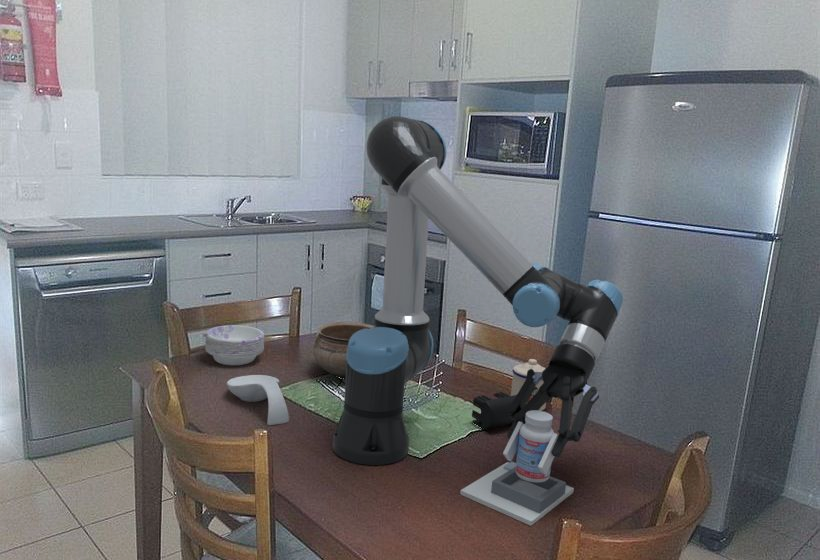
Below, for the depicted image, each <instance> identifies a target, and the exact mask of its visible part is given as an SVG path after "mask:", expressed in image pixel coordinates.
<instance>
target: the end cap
mask: <svg viewBox="0 0 820 560" xmlns="http://www.w3.org/2000/svg"><path fill="white" fill-rule="evenodd" d="M493 396H494V397H495V398H491V397H488V396H486V395H479V396H478V395H477V396H474V398H473V400H472V406H475V407H476V408H478V409H479V410H480V412H478V411H477V410H475V409H472V411H471V417H472V418H473V420H471V421H472V422H473V423H474V424H476V425H478V426H479V427H481V428H482V429H481V428H480V429H481V430H483V431H487V430H491V429H496V428H500V427H504V426H509V425H512V424H513V422H514V421H513V420H512V419H511V418H510V416H509V414H508V413H507V411H508V409H509V407H510V406H511V404H512V402H513V401H514V399H515V397H516V396H517V395H513V396H511V395H509V394H507V393H505V392H502V391H500V392H495V393H493ZM472 422H471V423H472ZM473 423H472V424H473ZM474 424H473V425H474ZM476 425H475V426H476ZM479 427H478V428H479Z"/></svg>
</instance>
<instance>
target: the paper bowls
mask: <svg viewBox="0 0 820 560" xmlns="http://www.w3.org/2000/svg"><path fill="white" fill-rule="evenodd" d="M204 343H205V352H206V353H207V354H209V355H211V356H212V357H213V359H214V361H215V362H217V363H219V364H221V365H224V366H244V365H247V364H249V363H252V362H254V360H255V359H256V357H257V356H259V355H260V354H262V353H263V352H264V349H265V348H264V347H265V333H264V331H262V330H261V329H259V328H256V327H254V326H253V327H252V326H249V325H238V324H233V325H221V326H219V325H218V326H216V327H215V326H214V327H212V328H209V329H208V330H206V333H205V342H204Z"/></svg>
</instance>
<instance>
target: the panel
mask: <svg viewBox="0 0 820 560" xmlns="http://www.w3.org/2000/svg"><path fill="white" fill-rule="evenodd" d="M515 469H516V461H515V462H514V461H507V462H505V463H504V464H501V465H500V466H498V467H497V468H495V469H493V470H492V471H490V472H488V473H487V474H485V475H484V476H482V477H480V478H478V479H477V480H475V481H473V482H472V483H470V484H469V485H467V486H465V487H463V488H462V489H460V495H461V496H463V497H465V498H467V499H469V500H472V501H474V502H477V503H479V504H481V505H482V506H483V505H484V506H485V507H488V508H490V509H493V510H494V511H497V512H499V513H501V514H503V515H506V516H508V517H510V518H512V519H515V520H517V521H518V522H521V523H523V524H526V525H528V526H530V527H532V526H533V525H534V524H535V523H537V522H538V521H539V520H541V519H542V518H543V517H544V516H545V515H546V514H548V513H549V512H551V511H552V510H553V509H554V508H556V507H557V506H558V505H559V504H561V503H562V502H563V501H564V500H566V499H567V498H568V497H569V496H571V495H572V494H573V493H574V491H575V490H574V489H575V488H574V487H571V486H569V485H567V482H566V481H563V480H560V479H558V478H555V477H553V476H551V475H550V476H549V478H548V480H546V481H544V482H538V483H537V482H529V481H526V480H523V479H521V478H520V477H518V476H517V474H516V471H515Z"/></svg>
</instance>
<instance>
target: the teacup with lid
mask: <svg viewBox="0 0 820 560" xmlns="http://www.w3.org/2000/svg"><path fill="white" fill-rule="evenodd" d="M546 368H547V367H545V366H542V365H541V364H539V363H538V361H537V359H534V358H530V359H528V362H524V363H520V364H516V365H514V366H513V368H512V381H511V389H510V391H511V392H510V396H513V395H517V394H518V392H519V390H520V389H521V387H522V385H523V384H524V382H525V380H526V377H527V371H528V370H529V369H533V371H534V372H543V370H545V369H546ZM543 383H544V382H543V379H541V380H540V381H539V384H536V387H535V389H534V391H533V393H532V394H531V396H530V398H529V400H528V401H527V403H528V402H529V401H530V399H531V398H532V397H533V396H534V395H535V394H536V393H537V392H538V390H539V388H540V386H541V385H542V384H543ZM527 403H526V404H527ZM546 406H547V401H546V402H545V403H544V404H543V406H542V407H541V408H540V409H539V410H538V411H544V410H545V409H546V408H547V407H546Z"/></svg>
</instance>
